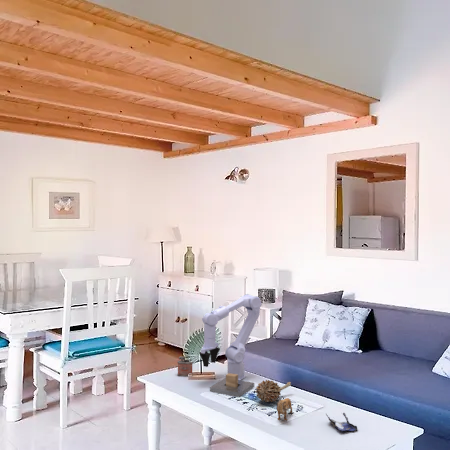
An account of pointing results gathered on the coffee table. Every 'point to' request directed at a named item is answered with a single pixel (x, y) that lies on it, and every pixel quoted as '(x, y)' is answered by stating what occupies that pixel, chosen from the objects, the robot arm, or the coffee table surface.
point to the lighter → (184, 367)
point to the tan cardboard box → (232, 380)
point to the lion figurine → (283, 407)
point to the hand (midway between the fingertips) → (209, 364)
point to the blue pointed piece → (344, 425)
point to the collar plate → (232, 388)
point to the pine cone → (269, 390)
